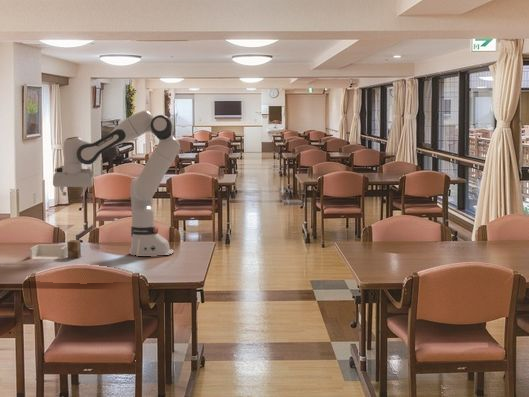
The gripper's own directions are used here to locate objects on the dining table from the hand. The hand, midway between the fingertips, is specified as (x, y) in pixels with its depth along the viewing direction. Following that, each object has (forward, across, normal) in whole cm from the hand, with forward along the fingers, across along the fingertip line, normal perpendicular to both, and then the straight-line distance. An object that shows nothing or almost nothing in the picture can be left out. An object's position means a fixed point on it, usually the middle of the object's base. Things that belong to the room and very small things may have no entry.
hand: (73, 195), depth 377 cm
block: (+28, -5, +17) cm, 33 cm away
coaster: (+29, -5, +17) cm, 34 cm away
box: (+29, +8, +16) cm, 34 cm away
